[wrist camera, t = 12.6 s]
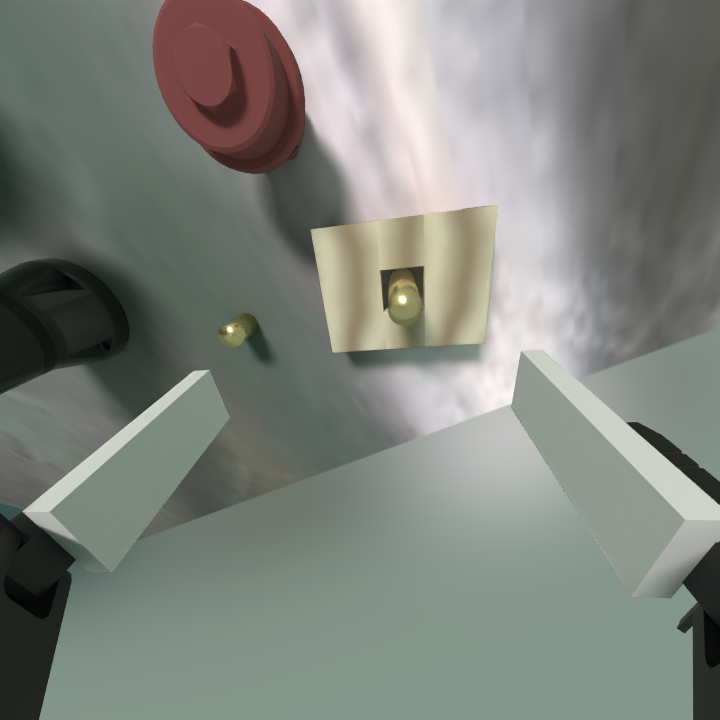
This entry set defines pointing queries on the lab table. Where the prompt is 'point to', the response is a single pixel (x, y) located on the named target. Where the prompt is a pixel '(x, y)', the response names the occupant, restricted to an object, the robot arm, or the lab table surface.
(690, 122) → the lab table surface
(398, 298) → the long pin
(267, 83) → the mechanical component
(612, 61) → the lab table surface
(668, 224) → the lab table surface
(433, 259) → the stand
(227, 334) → the short pin
